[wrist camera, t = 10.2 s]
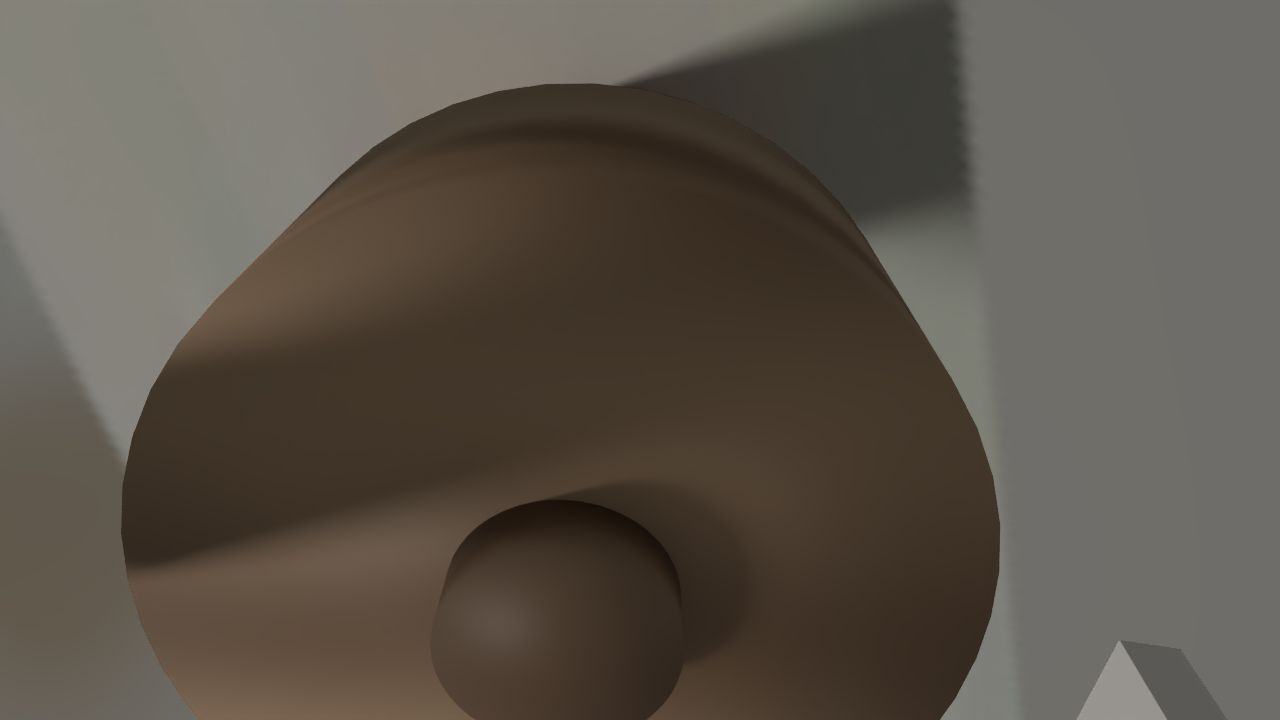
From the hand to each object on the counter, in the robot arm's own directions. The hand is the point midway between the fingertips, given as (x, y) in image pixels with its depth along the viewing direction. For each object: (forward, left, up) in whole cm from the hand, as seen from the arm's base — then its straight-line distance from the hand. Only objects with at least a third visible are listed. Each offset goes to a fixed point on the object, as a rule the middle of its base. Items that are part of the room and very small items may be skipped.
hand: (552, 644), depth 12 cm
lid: (0, 0, -6) cm, 6 cm away
